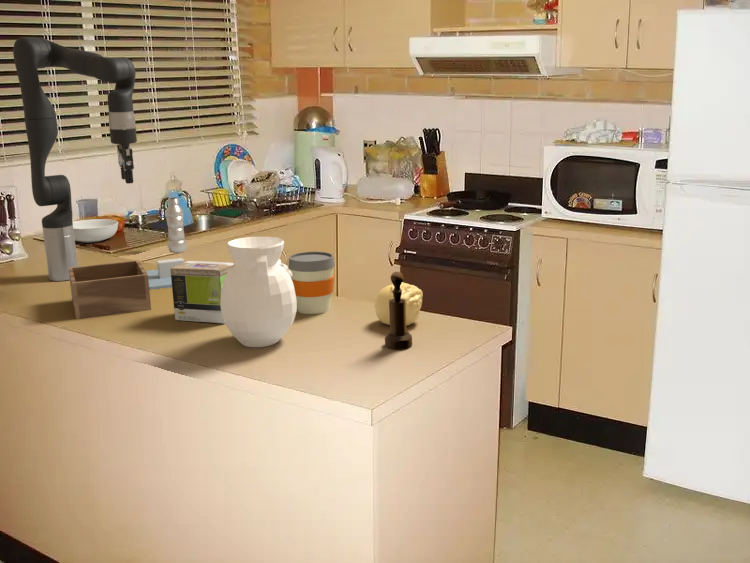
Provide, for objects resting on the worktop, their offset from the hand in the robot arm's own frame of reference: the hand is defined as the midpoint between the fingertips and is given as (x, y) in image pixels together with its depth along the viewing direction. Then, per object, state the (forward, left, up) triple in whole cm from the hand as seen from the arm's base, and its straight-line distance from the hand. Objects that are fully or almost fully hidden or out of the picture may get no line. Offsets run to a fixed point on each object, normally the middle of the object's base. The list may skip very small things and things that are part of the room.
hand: (127, 181), depth 258 cm
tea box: (+45, +13, -33) cm, 57 cm away
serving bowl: (-81, -8, -33) cm, 88 cm away
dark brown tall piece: (+89, +50, -33) cm, 107 cm away
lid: (-3, +11, -33) cm, 35 cm away
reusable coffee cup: (+51, +41, -33) cm, 73 cm away
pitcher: (+71, +21, -33) cm, 81 cm away
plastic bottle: (-41, +19, -33) cm, 56 cm away
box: (+20, -10, -33) cm, 39 cm away
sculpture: (+73, +57, -33) cm, 98 cm away
